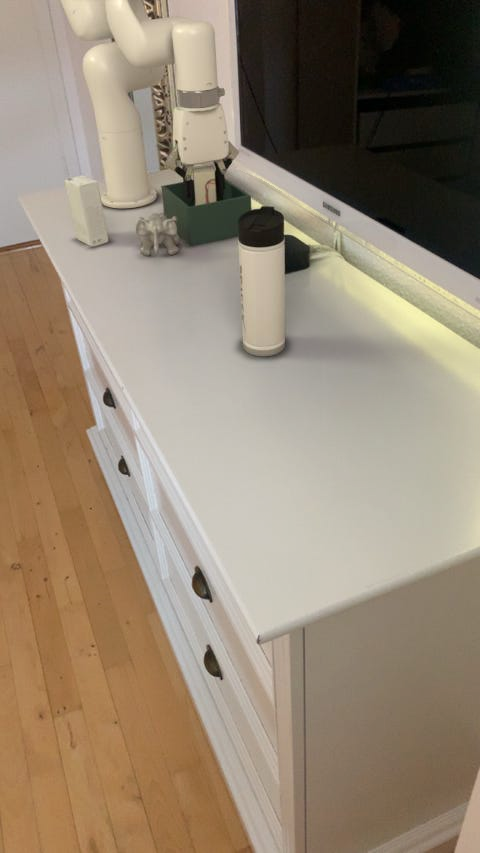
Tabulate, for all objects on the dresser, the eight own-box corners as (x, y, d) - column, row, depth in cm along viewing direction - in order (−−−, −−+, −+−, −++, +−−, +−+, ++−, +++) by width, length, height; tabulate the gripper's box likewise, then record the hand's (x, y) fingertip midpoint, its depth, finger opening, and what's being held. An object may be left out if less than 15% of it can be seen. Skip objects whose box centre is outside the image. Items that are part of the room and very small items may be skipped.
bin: (164, 221, 148) (161, 185, 143) (222, 210, 152) (220, 175, 147) (191, 246, 136) (187, 208, 132) (252, 233, 140) (251, 195, 136)
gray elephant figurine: (176, 240, 139) (172, 201, 134) (195, 262, 130) (192, 222, 125) (131, 248, 137) (125, 209, 132) (147, 271, 128) (142, 231, 123)
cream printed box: (218, 222, 141) (215, 172, 135) (196, 224, 141) (192, 173, 135) (217, 213, 145) (213, 164, 139) (195, 215, 145) (191, 165, 139)
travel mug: (290, 337, 106) (290, 207, 94) (278, 359, 101) (276, 225, 89) (251, 332, 108) (246, 203, 96) (237, 354, 103) (230, 221, 91)
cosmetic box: (110, 242, 140) (100, 180, 132) (90, 248, 138) (79, 186, 130) (94, 233, 144) (84, 173, 136) (75, 239, 141) (63, 179, 134)
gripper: (232, 89, 135) (236, 183, 146) (147, 101, 130) (158, 198, 140) (248, 95, 129) (251, 194, 140) (161, 108, 124) (171, 209, 135)
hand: (205, 195), depth 140 cm, fingers closed on cream printed box, 5 cm apart
